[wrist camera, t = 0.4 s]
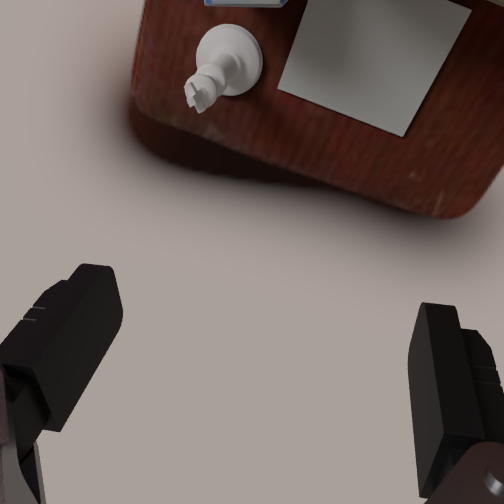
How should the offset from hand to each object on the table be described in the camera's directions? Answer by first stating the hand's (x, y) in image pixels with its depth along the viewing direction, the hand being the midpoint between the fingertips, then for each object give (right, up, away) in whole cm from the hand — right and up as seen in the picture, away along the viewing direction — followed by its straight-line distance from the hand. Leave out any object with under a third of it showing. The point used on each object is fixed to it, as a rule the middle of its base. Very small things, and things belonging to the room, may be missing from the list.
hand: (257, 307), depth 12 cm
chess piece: (-2, +16, +23) cm, 28 cm away
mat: (+8, +15, +20) cm, 27 cm away
